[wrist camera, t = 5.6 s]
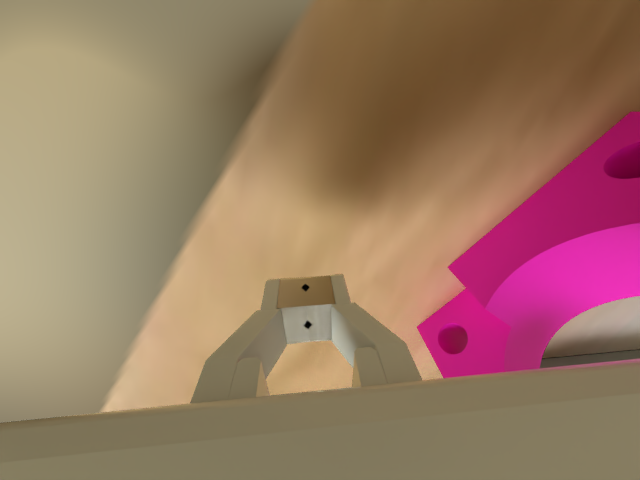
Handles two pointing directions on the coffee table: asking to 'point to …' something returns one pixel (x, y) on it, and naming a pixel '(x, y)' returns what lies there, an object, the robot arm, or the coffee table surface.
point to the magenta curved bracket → (546, 263)
